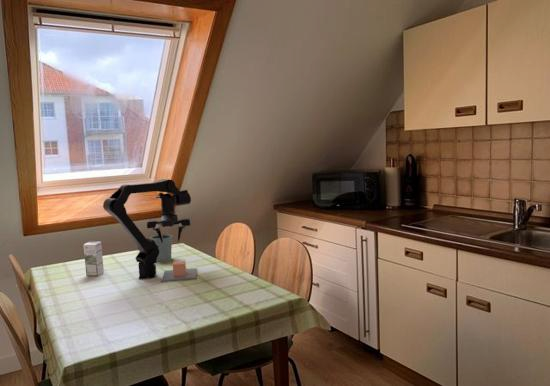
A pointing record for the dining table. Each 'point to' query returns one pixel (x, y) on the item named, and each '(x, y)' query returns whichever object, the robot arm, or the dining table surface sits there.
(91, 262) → the syrup box
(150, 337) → the dining table surface
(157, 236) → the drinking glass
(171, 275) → the slate plate
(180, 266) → the terracotta block
